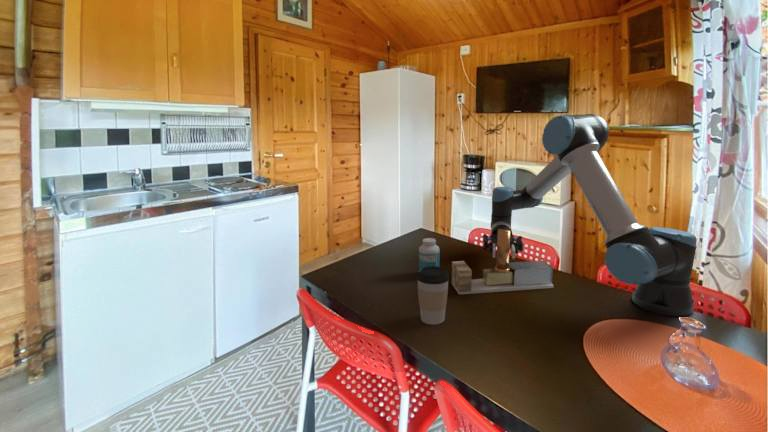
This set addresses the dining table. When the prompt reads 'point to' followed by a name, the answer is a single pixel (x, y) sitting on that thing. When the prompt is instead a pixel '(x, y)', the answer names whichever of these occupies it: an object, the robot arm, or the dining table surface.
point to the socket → (461, 276)
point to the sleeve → (531, 273)
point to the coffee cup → (432, 294)
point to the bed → (499, 287)
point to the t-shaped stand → (500, 262)
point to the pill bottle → (429, 254)
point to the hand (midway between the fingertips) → (503, 254)
